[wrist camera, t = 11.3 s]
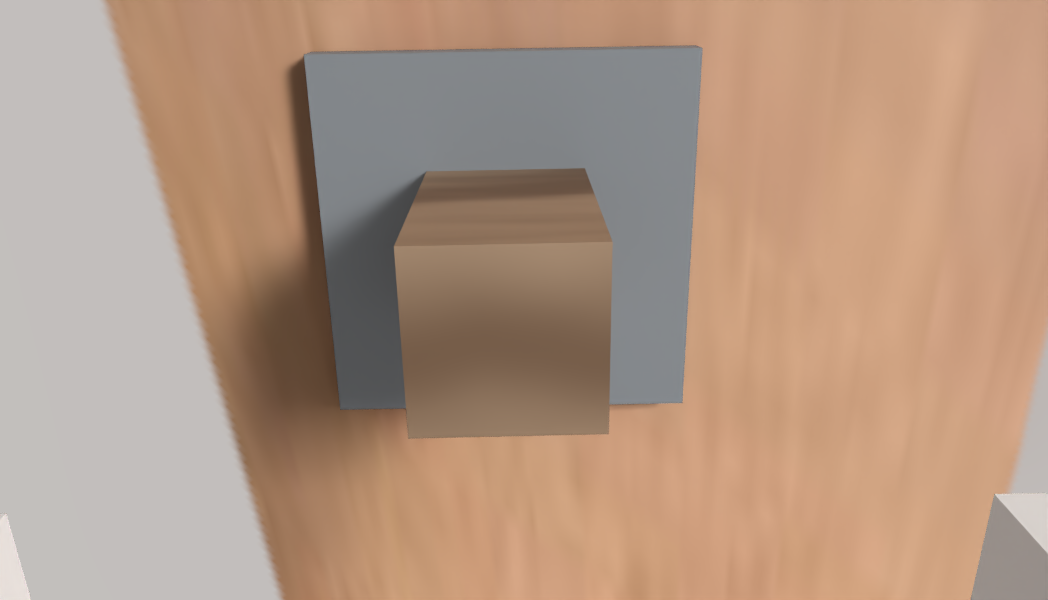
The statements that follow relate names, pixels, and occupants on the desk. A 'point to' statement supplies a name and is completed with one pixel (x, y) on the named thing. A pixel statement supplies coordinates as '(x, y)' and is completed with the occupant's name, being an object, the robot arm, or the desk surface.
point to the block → (505, 305)
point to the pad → (508, 144)
